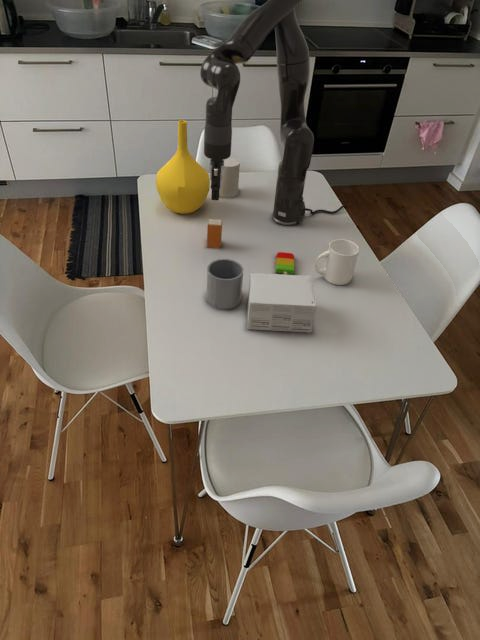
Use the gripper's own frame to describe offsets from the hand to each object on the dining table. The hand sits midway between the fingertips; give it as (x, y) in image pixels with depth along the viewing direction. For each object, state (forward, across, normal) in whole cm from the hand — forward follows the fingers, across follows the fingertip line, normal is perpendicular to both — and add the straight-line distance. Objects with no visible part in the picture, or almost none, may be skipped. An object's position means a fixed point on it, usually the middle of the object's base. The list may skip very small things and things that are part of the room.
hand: (215, 192), depth 149 cm
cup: (+18, +36, -3) cm, 40 cm away
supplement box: (+18, -33, -19) cm, 42 cm away
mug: (+18, -14, -36) cm, 43 cm away
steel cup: (+18, -27, -4) cm, 33 cm away
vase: (+18, +23, +12) cm, 32 cm away
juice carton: (+18, 0, 0) cm, 18 cm away
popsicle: (+18, -12, -22) cm, 31 cm away
